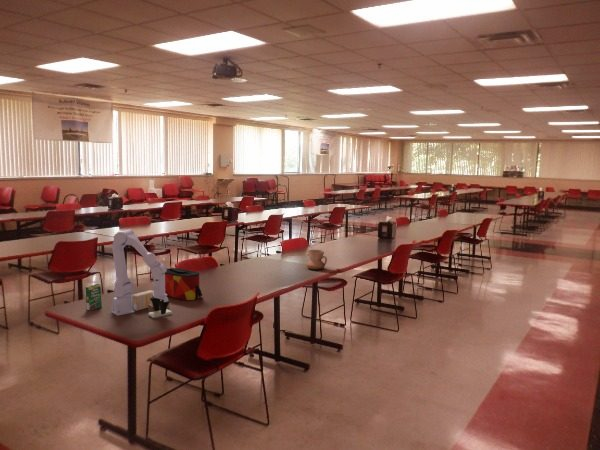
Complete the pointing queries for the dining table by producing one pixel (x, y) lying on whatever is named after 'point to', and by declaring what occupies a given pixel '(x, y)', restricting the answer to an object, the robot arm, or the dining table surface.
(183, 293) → the bag
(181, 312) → the dining table surface
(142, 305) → the supplement box
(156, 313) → the lid
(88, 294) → the coffee box
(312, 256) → the ceramic jug
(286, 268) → the dining table surface
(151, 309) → the pen box
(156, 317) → the mat
